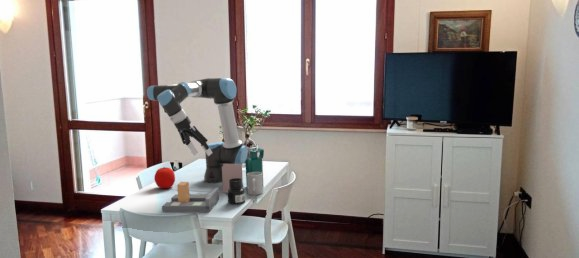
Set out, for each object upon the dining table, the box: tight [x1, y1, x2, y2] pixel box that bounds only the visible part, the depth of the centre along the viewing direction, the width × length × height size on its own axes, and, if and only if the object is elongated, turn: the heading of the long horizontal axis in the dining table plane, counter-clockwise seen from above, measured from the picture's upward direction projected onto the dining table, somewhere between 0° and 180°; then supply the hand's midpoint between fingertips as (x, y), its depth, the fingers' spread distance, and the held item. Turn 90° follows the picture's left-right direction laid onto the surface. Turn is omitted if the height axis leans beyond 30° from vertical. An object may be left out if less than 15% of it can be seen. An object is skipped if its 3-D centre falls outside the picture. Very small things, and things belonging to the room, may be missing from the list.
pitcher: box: [244, 148, 265, 186], centre depth 266 cm, size 10×8×22 cm
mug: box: [246, 172, 264, 196], centre depth 253 cm, size 12×8×11 cm
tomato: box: [154, 166, 176, 189], centre depth 270 cm, size 12×12×13 cm
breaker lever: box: [176, 181, 190, 202], centre depth 235 cm, size 4×6×10 cm, turn 175°
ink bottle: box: [227, 178, 246, 205], centre depth 239 cm, size 10×9×12 cm
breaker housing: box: [161, 187, 221, 213], centre depth 236 cm, size 24×20×6 cm
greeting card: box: [222, 164, 244, 193], centre depth 260 cm, size 11×7×15 cm, turn 74°
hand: (203, 154), depth 231 cm, fingers open, 13 cm apart
